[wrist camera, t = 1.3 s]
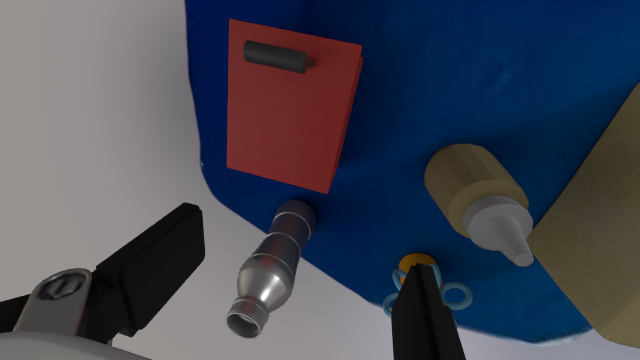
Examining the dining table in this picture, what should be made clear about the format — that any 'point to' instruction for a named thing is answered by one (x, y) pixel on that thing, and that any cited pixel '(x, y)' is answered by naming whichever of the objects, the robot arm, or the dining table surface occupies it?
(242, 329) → the silver metal bottle
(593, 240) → the cheese
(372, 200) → the dining table surface
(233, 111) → the red box lid
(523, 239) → the squeeze bottle
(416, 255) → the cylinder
